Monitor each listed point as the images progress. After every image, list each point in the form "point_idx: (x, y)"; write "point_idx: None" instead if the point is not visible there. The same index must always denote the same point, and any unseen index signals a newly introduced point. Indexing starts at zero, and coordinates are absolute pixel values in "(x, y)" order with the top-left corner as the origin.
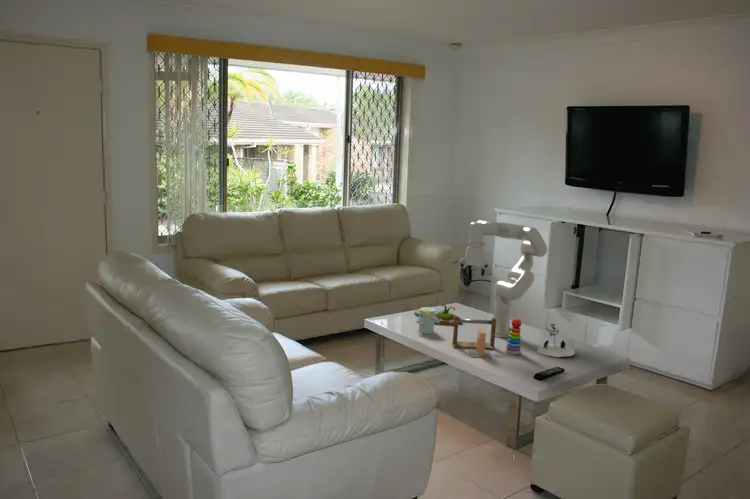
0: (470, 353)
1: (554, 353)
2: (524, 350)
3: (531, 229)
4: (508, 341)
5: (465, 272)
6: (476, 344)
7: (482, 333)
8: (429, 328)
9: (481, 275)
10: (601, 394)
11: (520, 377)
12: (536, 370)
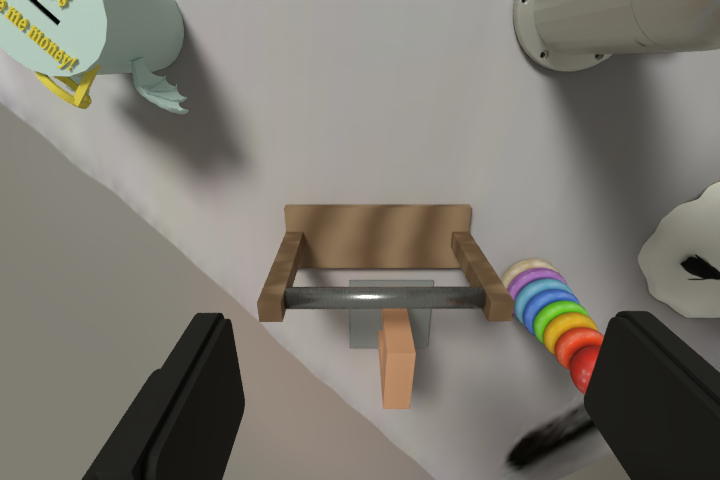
0: (352, 321)
1: (686, 308)
2: (590, 248)
3: None
4: (524, 304)
5: (221, 467)
6: (391, 237)
7: (394, 408)
8: (148, 69)
9: (596, 381)
10: None
11: (469, 460)
12: (539, 416)
